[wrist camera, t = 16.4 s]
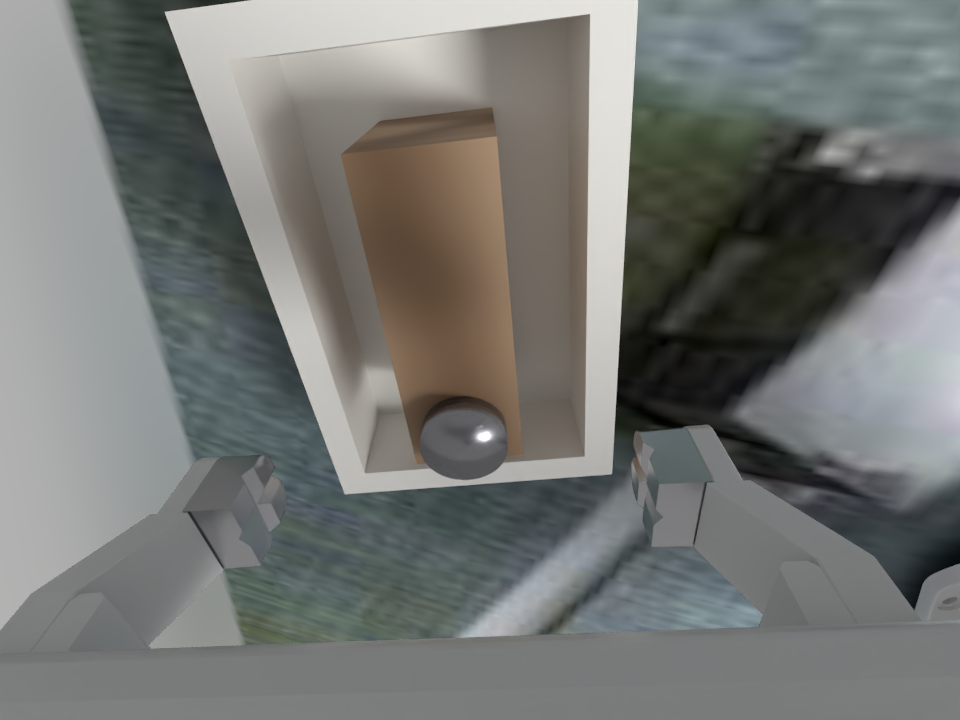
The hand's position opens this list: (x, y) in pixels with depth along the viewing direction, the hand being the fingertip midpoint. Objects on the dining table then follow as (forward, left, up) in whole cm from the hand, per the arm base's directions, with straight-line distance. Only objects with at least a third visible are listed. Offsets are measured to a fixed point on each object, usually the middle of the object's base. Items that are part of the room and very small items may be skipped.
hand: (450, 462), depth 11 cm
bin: (0, 0, -12) cm, 12 cm away
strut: (0, 0, -11) cm, 11 cm away
